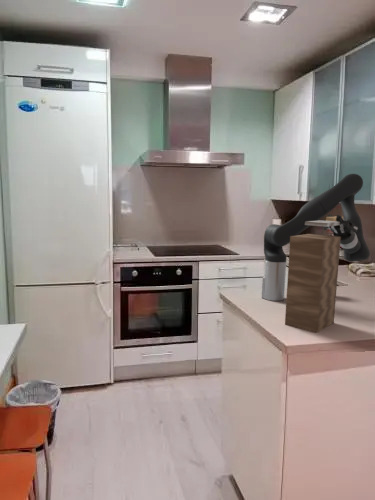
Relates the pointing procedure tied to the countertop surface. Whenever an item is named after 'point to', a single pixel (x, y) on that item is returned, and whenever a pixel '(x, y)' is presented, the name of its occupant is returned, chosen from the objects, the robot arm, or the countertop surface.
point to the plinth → (312, 281)
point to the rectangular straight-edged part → (324, 222)
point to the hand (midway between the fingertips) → (333, 216)
